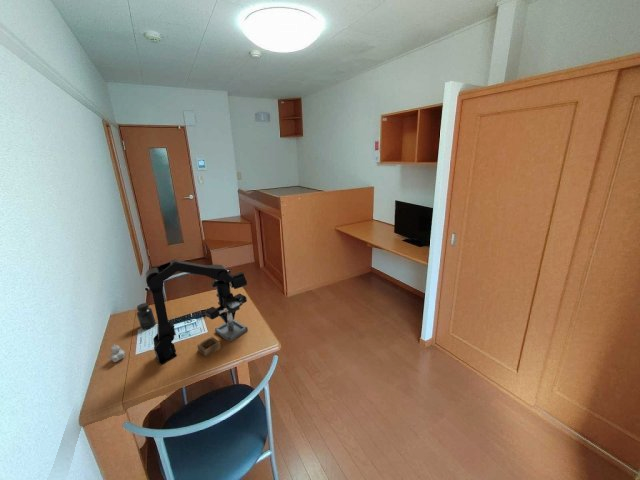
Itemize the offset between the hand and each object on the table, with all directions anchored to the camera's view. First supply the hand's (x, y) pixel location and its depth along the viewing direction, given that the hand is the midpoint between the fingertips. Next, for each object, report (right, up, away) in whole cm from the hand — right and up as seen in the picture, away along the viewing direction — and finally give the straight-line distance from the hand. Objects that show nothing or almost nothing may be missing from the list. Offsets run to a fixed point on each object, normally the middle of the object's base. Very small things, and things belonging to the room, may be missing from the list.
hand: (229, 321), depth 131 cm
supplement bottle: (-45, -6, +11) cm, 46 cm away
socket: (-6, -10, -9) cm, 15 cm away
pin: (0, -4, +1) cm, 4 cm away
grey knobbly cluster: (-44, -13, -12) cm, 47 cm away
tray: (0, -6, +2) cm, 6 cm away
